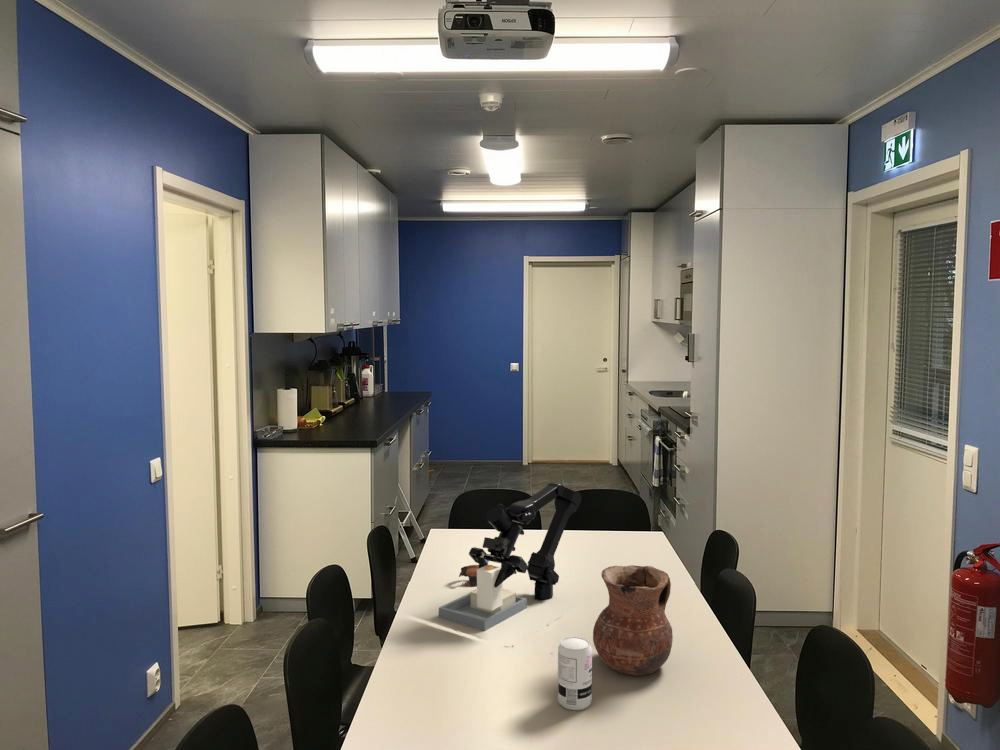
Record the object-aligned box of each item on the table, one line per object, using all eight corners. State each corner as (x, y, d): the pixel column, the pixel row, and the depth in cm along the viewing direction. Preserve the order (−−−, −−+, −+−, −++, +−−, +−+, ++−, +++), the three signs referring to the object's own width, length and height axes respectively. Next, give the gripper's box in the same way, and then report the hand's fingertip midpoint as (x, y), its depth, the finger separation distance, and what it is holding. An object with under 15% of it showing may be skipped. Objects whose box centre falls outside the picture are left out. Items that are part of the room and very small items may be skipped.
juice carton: (487, 601, 230) (487, 562, 229) (502, 604, 227) (502, 565, 226) (477, 606, 225) (476, 567, 224) (492, 610, 222) (491, 570, 221)
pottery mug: (457, 591, 258) (454, 567, 261) (466, 594, 266) (464, 571, 270) (489, 584, 255) (486, 560, 259) (498, 588, 263) (495, 565, 267)
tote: (482, 598, 249) (482, 587, 249) (526, 610, 238) (526, 598, 238) (438, 620, 231) (438, 607, 231) (484, 634, 221) (484, 621, 220)
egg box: (485, 599, 246) (485, 584, 245) (515, 607, 239) (515, 592, 238) (470, 607, 239) (470, 591, 239) (500, 615, 232) (500, 600, 232)
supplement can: (555, 695, 185) (555, 636, 184) (588, 693, 185) (588, 635, 184) (560, 712, 177) (560, 651, 176) (595, 710, 177) (595, 649, 176)
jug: (655, 691, 187) (656, 593, 185) (579, 670, 198) (579, 578, 196) (683, 657, 205) (684, 568, 203) (613, 640, 216) (613, 556, 215)
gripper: (471, 521, 233) (450, 566, 224) (522, 530, 222) (502, 578, 214) (486, 540, 240) (466, 583, 232) (536, 549, 229) (517, 595, 221)
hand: (486, 584), depth 224 cm, fingers closed on juice carton, 5 cm apart
